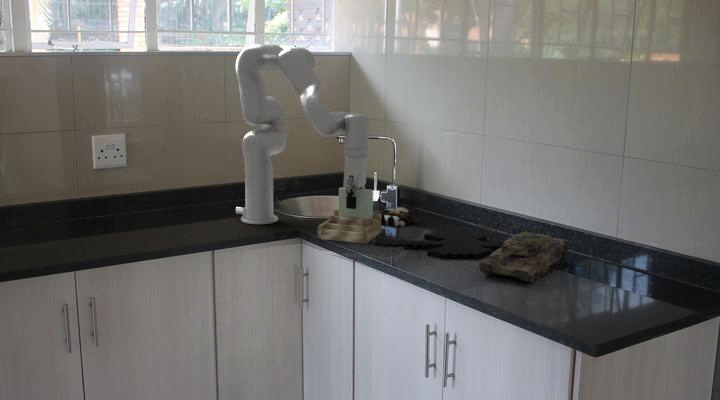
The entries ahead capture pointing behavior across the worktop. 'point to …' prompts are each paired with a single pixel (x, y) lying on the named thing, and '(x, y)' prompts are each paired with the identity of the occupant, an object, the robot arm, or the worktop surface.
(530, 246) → the toy
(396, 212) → the toy
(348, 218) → the offcut top
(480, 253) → the decorative axe
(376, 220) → the rack
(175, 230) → the worktop surface
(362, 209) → the board
